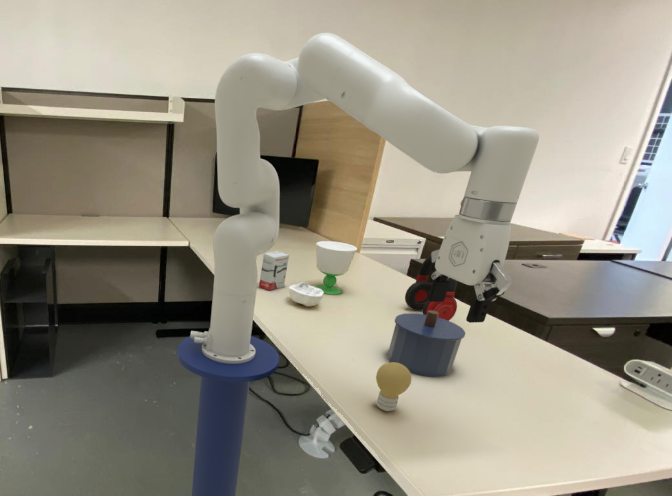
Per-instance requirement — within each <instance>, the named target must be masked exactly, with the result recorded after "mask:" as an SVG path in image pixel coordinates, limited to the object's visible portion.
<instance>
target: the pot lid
mask: <svg viewBox="0 0 672 496" xmlns="http://www.w3.org/2000/svg"><path fill="white" fill-rule="evenodd" d="M438 315H439V313H438V312H436V311H433V310H429V311H428V313H427V315H424V314H423V313H412V312H411V313H410V312H407V313H400V314H397V315H396V316H395V317H394V323H395V325H396V324H397V325H398V326H399V327H400V328H402V329H403V330H405V331H407V332H409V333H412V334H415V335H418V336H421V337H425V338H429V339H434V340H442V341H455V340H460V339H461V340H462V339H464V338H465V336H466V331H465V329H464V328H462V327H461V326H460V325H458V324H456V323H454V322H452V321H451V320H449V321H448V320H445V319H442V318H438Z"/></svg>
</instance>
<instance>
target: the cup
mask: <svg viewBox="0 0 672 496" xmlns="http://www.w3.org/2000/svg"><path fill="white" fill-rule="evenodd" d="M357 250H358V247H356V246H355V245H352V244H349V243H345V242H339V241H334V240H333V241H331V240H320V241H317V242H316V243H315V251H316V255H315V257H316V258H315V259H316V267H317V270H318V271H320V273H322V274H324V275H325V276H324V277H323V281H322V283H323V285H316V286H315V287H316V288H319V289H321V290H322V291H323V292H324V293H323V294H327V295H339V294H341V293H342V290H341V289H340V288H338V287H335V285H336V284H337V277H339V276H342V275H345V274H346V273H348V271H349V270H350V269H349V268H350V266H351V264H352V262H353V260H354V257H355V255H356V254H357V253H356V252H357Z"/></svg>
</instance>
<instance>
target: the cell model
mask: <svg viewBox="0 0 672 496" xmlns="http://www.w3.org/2000/svg"><path fill="white" fill-rule="evenodd" d="M288 289H289V297H290V299H291V300H292V301H293V302H294V303H297V304H301V305H303V306H304V307H313V306H317V305H319V303H321V300H322V299H323V295H324V294H325V293H324V292H323V291H322V290H321V289H319V288H316V286H314V285H309V284H308V283H307V282H306V281H301V282H299V283H295V284H291V285H289V286H288Z"/></svg>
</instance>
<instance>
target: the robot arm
mask: <svg viewBox="0 0 672 496" xmlns="http://www.w3.org/2000/svg"><path fill="white" fill-rule="evenodd" d="M325 99H326V100H327V101H329V102H330V103H332V104H334V105H335V106H337V107H338V108H339V109H341V110H342V111H344V112H345V113H346V114H347V115H349V116H350V117H352V118H353V119H355V120H356V121H358V122H359V123H360V124H362V125H363V126H364V127H365V128H366V129H368V130H370V131H371V132H374V133H375V134H376V135H378V136H379V137H381V138H383V139H384V140H385V141H386V142H388V143H389V144H390V145H392V146H393V147H395V148H396V149H397V150H399V151H400V152H402V153H403V154H405V155H406V156H408V157H409V158H411V159H412V160H413V161H415V162H416V163H418V164H419V165H421V166H422V167H424V168H425V169H427V170H428V171H431V172H433V173H437V174H450V173H455V172H456V173H457V172H470V174H469V177H468V182H467V184H466V188H465V191H464V196H463V198H462V200H461V201H460V207H459V208H460V209H459V212H458V214H455V215H454V217H453V218H452V220H451V221H450V224H449V225H448V228H447V230H446V231H445V235H444V237H443V240H442V242H441V245H440V248H439V249H435V250H433V251H432V252H431V254H430V255H431V258H432V264H431V271H432V273H431V279H432V282H431V283H432V286H431V290H430V293H429V296H428V301H430V302H443V301H444V300H445V297H446V293H447V290H448V287H449V284H450V281H449V280H447V279H448V278H452V279H455V280H457V282H459V283H462V284H465V285H466V286H473V289H474V291H475V296H476V298H472V300H471V303H470V306H469V308H468V312H467V315H466V322H468V323H484V322H485V320H486V317H487V314H488V311H489V309H490V306H491V303H492V302H494V301H496V300H497V298H500V297H501V296H504V294H505V292H506V291H507V290H508V289H509V288H510V287H511V286H512V285H513V283H514V279H513V278H512V277H511V275H510V274H509V273H508V272H507V270H506V269H505V268H504V264H505V261H506V257H507V254H508V250H509V246H510V240H511V234H512V224H511V222H512V219H513V217H514V213H515V210H516V207H517V205H518V202H519V199H520V196H521V193H522V190H523V188H524V184H525V181H526V179H527V178H526V177H527V175H528V173H529V170H530V167H531V164H532V161H533V158H534V156H535V153H536V150H537V147H538V144H539V140H540V134H539V132H538V130H537V129H534V128H531V127H526V126H514V125H493V126H489V127H486V126H485V127H484V126H480V125H479V126H478V125H473V124H469V123H468V122H466V121H464V120H463V119H461V118H459V117H458V116H456V115H455V114H453V113H451V112H450V111H448V110H446V109H445V108H444V107H442V106H440V105H439V104H437V103H436V102H434V101H433V100H431V99H430V98H428V97H427V96H425V95H423V94H422V93H420V92H419V91H418V90H416V89H415V88H413V87H412V86H411V85H410V84H409V83H408V82H407V81H406V80H405V79H404V77H402V76H401V75H400V74H399V73H397V72H396V71H394V70H393V69H390V68H389V67H388V66H386V65H384V64H383V63H381V62H380V61H378V60H377V59H375V58H373V57H372V56H371V55H369V54H367V53H366V52H364V51H362V49H359V48H358V47H356V46H355V45H353V44H352V43H351V42H349V41H347V40H346V39H344V38H342V37H341V36H339V35H337V34H335V33H332V32H320V33H317V34H315V35H314V36H312V37H311V38H309V39H308V40H307V41H306V42H305V43H304V44H303V46H302V47H301V50H300V53H299V55H298V57H295V58H292V59H289V60H286V61H283V60H281V59H278V58H277V57H274V56H272V55H269V54H267V53H261V52H251V53H246V54H243V55H242V56H240V57H237V58H236V59H235V60H233V62H232V63H230V64H229V65H228V66H227V68H226V69H225V70H224V71H223V73H222V75H221V77H220V79H219V81H218V84H217V87H216V89H215V96H214V117H215V128H216V129H215V131H216V165H217V166H216V167H217V191H218V195H219V198H220V200H221V201H222V203H223V204H225V205H226V206H227V207H230V208H234V209H235V208H236V209H239V214H235V215H231V216H229V217H227V218H225V219H224V220H223V221H221V222H220V223H219V225H217V227H216V229H215V231H214V234H213V240H212V248H213V258H214V259H213V260H214V275H213V291H212V303H211V311H210V312H211V314H210V325H209V328H208V331H206V330H204V333H203V332H202V331H197V330H191V331H190V335H189V336H190V339H194V343H203V344H202V353H203V354H204V355H205V356H206V357H207V358H209V359H211V360H213V361H216V362H220V363H226V364H241V363H246V362H248V361H250V360H252V359H253V358H254V357H255V352H256V351H255V348H254V347H253V346H252V345H251V344H250V339H251V336H252V330H253V324H254V323H253V321H254V315H255V305H256V299H257V298H256V297H257V288H258V280H259V279H258V277H259V276H258V266H257V258H258V256H261V255H264V254H265V253H268V251H270V250H271V249H272V248H274V246H275V245H276V243H277V241H278V237H279V233H280V197H281V196H280V195H281V192H280V191H281V190H280V179H279V176H278V175H279V174H278V172H277V171H276V168H275V167H274V166H273V164H272V163H270V162H269V161H268V160H266V159H263V158H261V134H260V127H259V122H258V118H257V110H258V109H263V110H269V111H277V112H278V111H280V112H281V111H285V110H291V109H294V108H296V107H297V108H298V107H301V106H304V105H307V104H311V103H315V102H319V101H322V100H325Z"/></svg>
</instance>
